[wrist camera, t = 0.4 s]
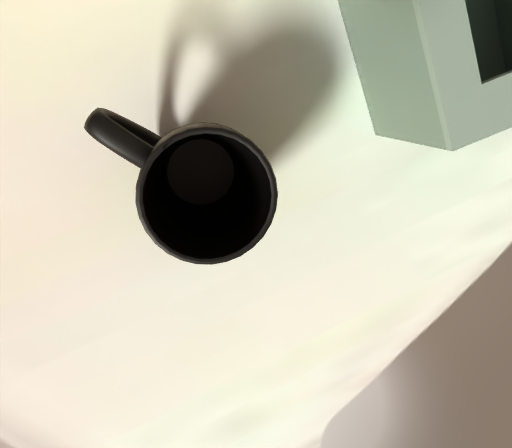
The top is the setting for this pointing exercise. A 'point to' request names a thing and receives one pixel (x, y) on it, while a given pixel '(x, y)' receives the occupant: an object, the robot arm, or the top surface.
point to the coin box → (434, 67)
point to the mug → (195, 186)
